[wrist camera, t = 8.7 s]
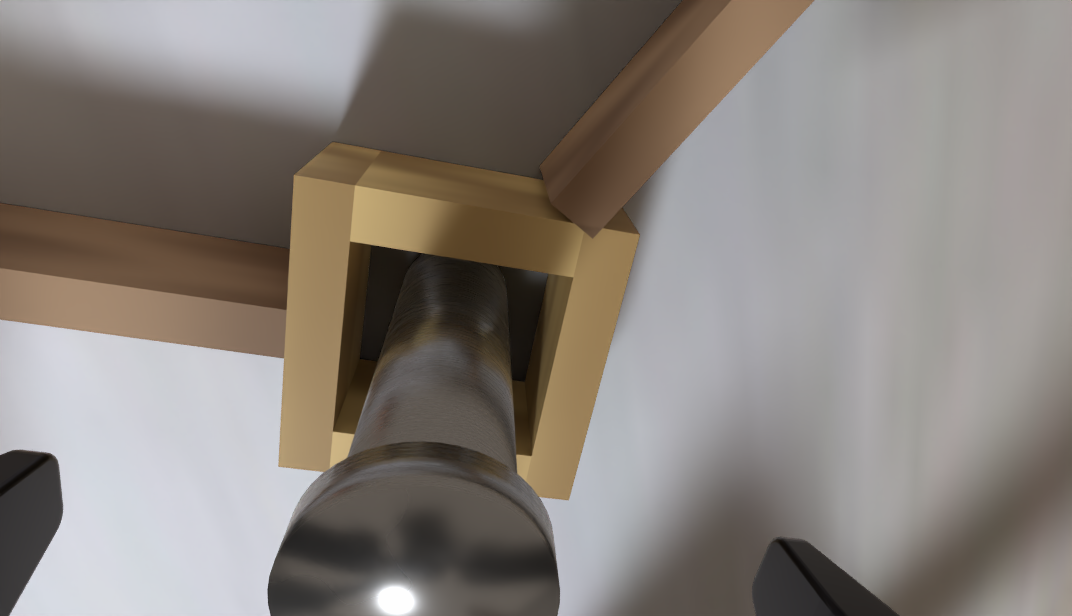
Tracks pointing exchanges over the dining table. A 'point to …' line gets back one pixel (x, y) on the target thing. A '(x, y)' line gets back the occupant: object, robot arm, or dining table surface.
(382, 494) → the hinge pin
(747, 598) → the dining table surface
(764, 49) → the tan piece
